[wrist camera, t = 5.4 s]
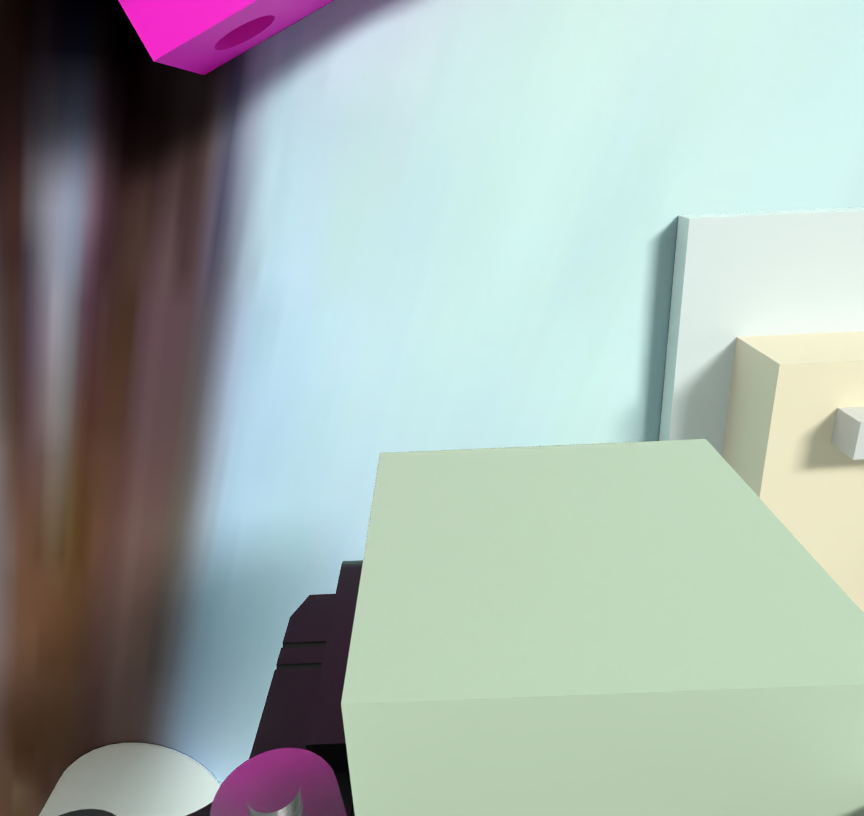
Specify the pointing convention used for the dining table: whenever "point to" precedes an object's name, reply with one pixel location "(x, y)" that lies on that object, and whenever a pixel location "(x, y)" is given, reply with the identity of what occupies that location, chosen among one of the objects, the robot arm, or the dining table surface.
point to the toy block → (210, 27)
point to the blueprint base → (751, 297)
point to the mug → (133, 782)
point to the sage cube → (596, 642)
